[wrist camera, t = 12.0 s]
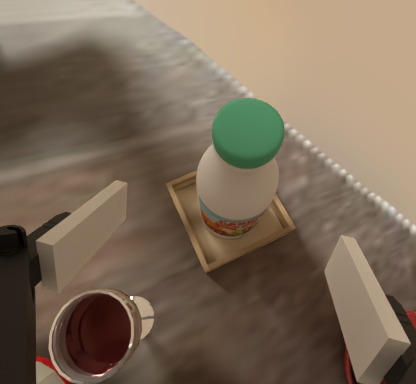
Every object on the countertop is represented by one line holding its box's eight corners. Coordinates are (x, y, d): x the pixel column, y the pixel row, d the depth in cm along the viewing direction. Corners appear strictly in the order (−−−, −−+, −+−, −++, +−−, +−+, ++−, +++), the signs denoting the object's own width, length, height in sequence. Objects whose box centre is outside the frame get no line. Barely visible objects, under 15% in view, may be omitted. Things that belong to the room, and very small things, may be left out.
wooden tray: (169, 192, 38) (165, 183, 34) (245, 159, 39) (248, 147, 36) (205, 273, 34) (204, 272, 31) (288, 233, 36) (295, 228, 32)
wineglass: (110, 358, 31) (52, 399, 20) (101, 298, 33) (44, 303, 22) (167, 339, 32) (143, 369, 20) (154, 281, 34) (126, 278, 22)
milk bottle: (188, 206, 36) (162, 116, 17) (233, 173, 37) (255, 57, 19) (224, 253, 34) (241, 209, 15) (270, 216, 35) (338, 135, 16)
